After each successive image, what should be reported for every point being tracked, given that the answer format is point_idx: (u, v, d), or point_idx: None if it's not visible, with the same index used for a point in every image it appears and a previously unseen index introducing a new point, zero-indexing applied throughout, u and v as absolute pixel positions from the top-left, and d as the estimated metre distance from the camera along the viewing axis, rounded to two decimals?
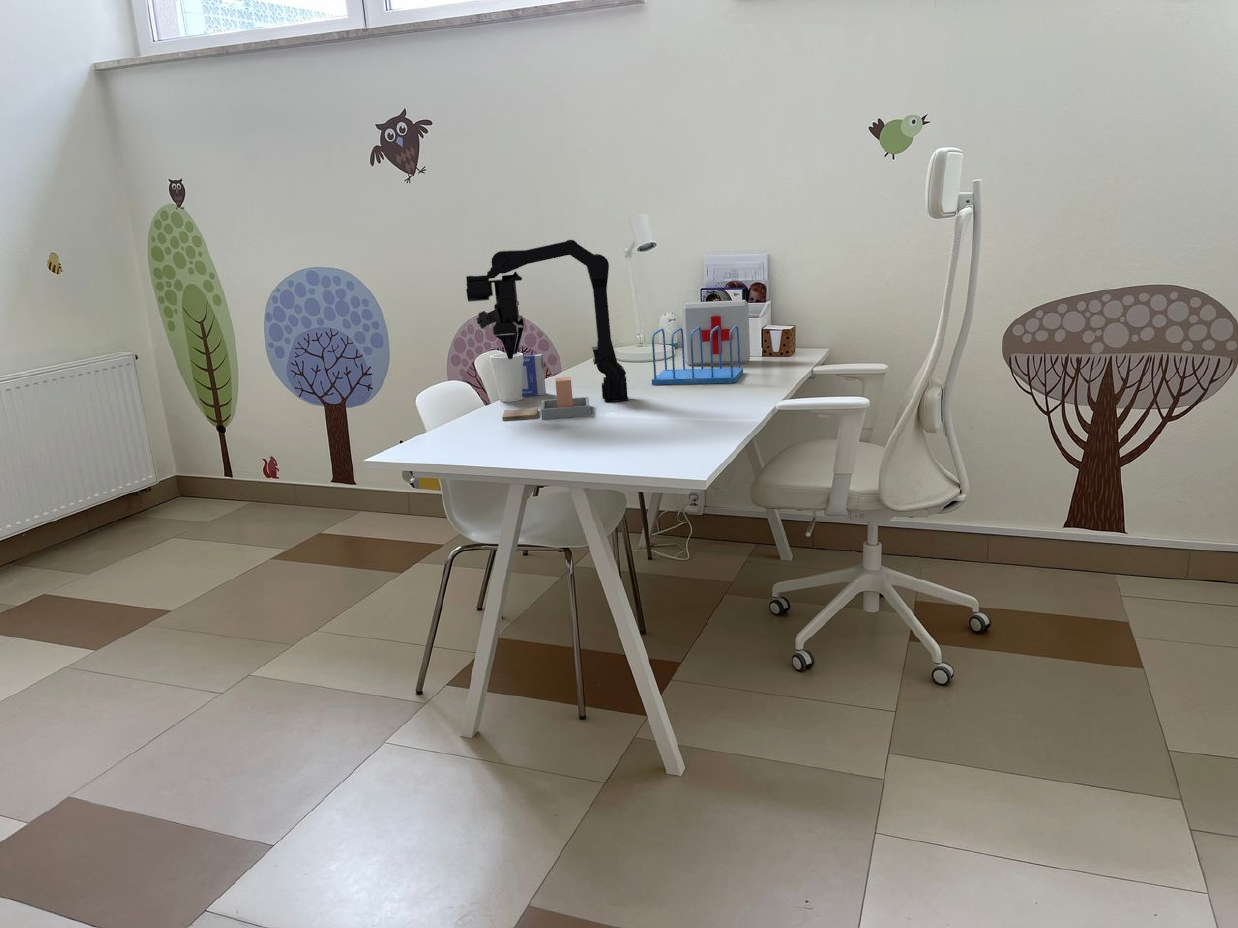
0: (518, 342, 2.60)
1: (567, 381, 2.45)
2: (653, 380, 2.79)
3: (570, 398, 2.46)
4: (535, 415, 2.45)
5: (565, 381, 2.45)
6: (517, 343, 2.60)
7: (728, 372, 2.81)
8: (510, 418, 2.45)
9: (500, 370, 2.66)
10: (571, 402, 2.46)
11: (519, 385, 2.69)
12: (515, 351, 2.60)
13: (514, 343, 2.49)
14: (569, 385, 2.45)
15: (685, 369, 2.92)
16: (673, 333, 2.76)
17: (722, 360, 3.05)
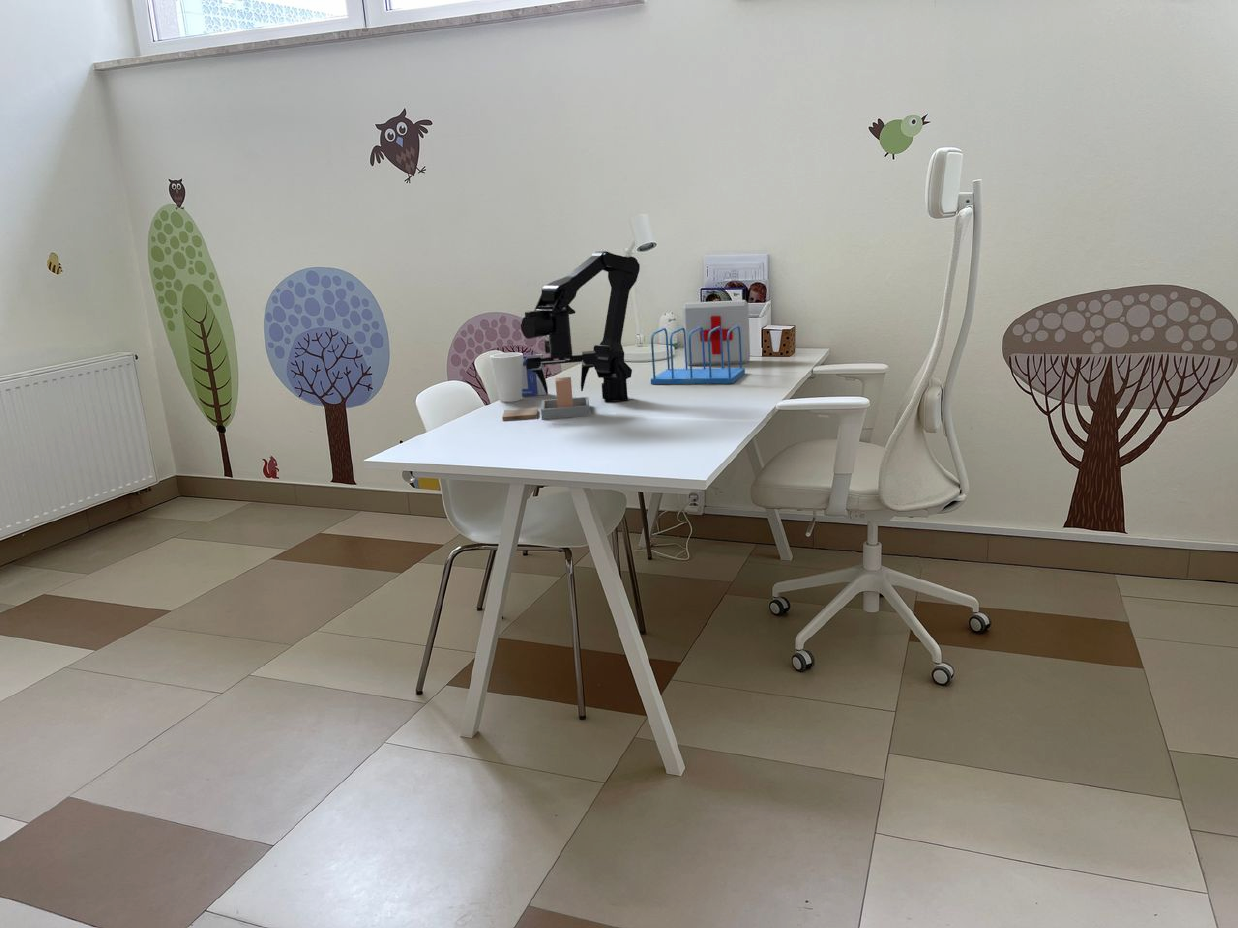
0: (581, 380, 2.46)
1: (567, 381, 2.45)
2: (652, 380, 2.80)
3: (570, 398, 2.46)
4: (535, 415, 2.45)
5: (565, 381, 2.45)
6: (581, 381, 2.47)
7: (728, 372, 2.80)
8: (510, 418, 2.45)
9: (500, 370, 2.66)
10: (571, 402, 2.46)
11: (519, 385, 2.69)
12: (581, 388, 2.48)
13: None
14: (569, 385, 2.45)
15: (687, 369, 2.92)
16: (672, 333, 2.76)
17: None
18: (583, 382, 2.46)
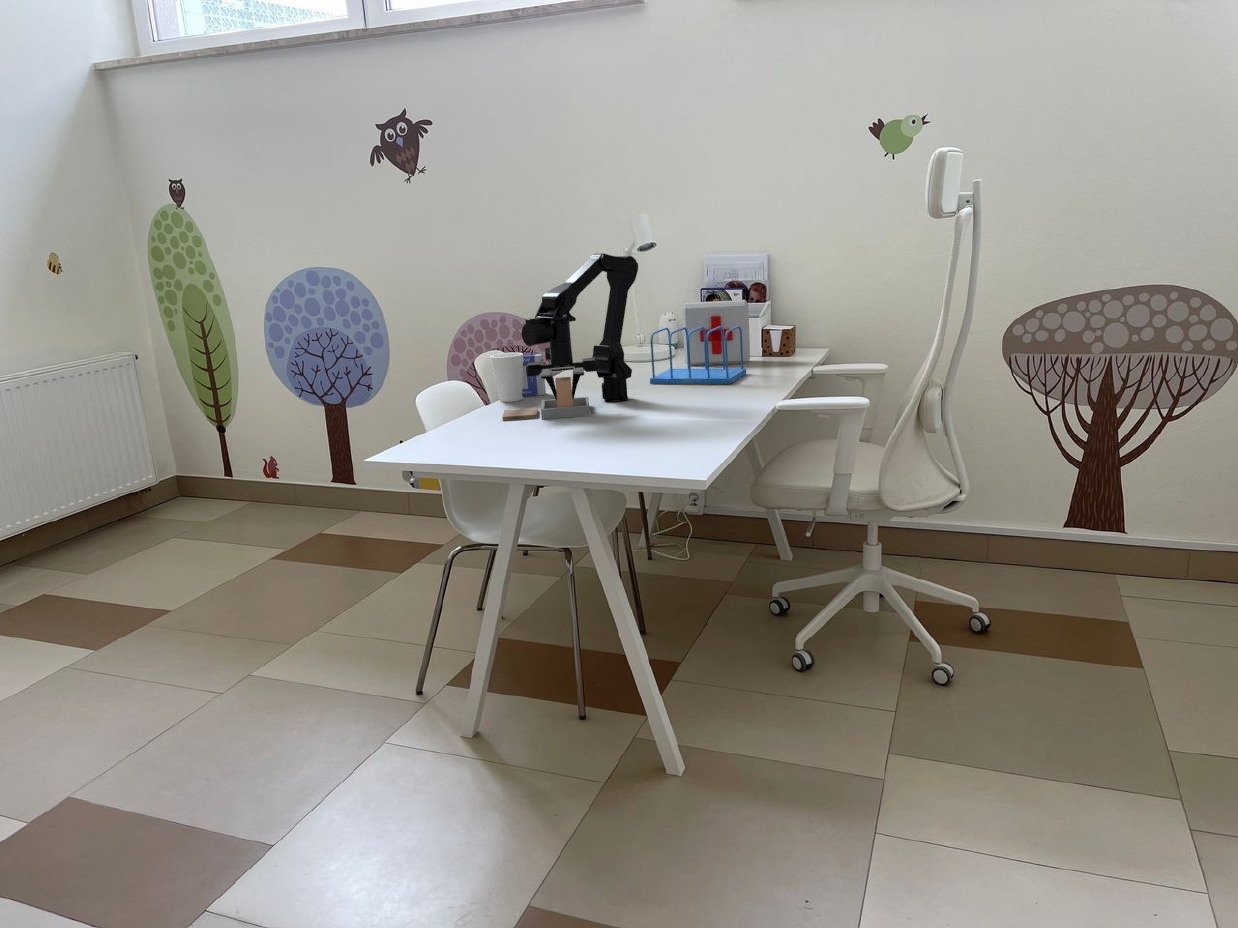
0: (572, 388, 2.47)
1: (567, 381, 2.45)
2: (651, 379, 2.80)
3: (570, 398, 2.46)
4: (535, 415, 2.45)
5: (565, 381, 2.45)
6: (572, 388, 2.47)
7: (727, 373, 2.80)
8: (510, 418, 2.45)
9: (500, 370, 2.66)
10: (571, 402, 2.46)
11: (519, 385, 2.69)
12: (572, 396, 2.48)
13: None
14: (569, 385, 2.45)
15: None
16: (671, 333, 2.77)
17: (722, 360, 3.05)
18: (574, 390, 2.47)
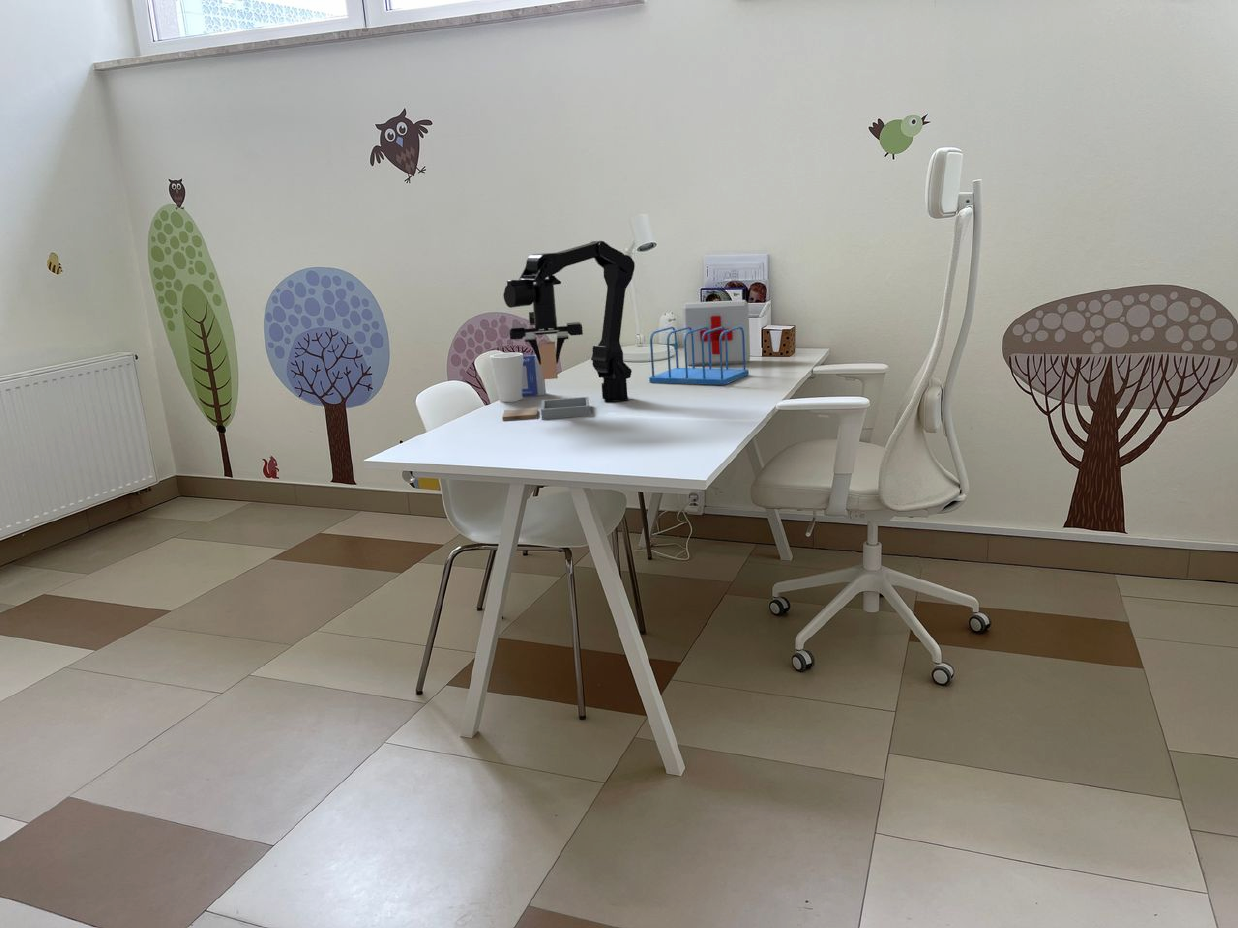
0: (556, 352, 2.44)
1: (551, 345, 2.42)
2: (650, 378, 2.83)
3: (554, 362, 2.43)
4: (535, 415, 2.45)
5: (549, 345, 2.42)
6: (556, 353, 2.44)
7: (726, 374, 2.78)
8: (510, 418, 2.45)
9: (500, 370, 2.66)
10: (555, 366, 2.44)
11: (519, 385, 2.69)
12: (556, 360, 2.45)
13: None
14: (553, 349, 2.42)
15: (695, 368, 2.92)
16: (670, 332, 2.78)
17: (722, 360, 3.05)
18: (558, 354, 2.44)
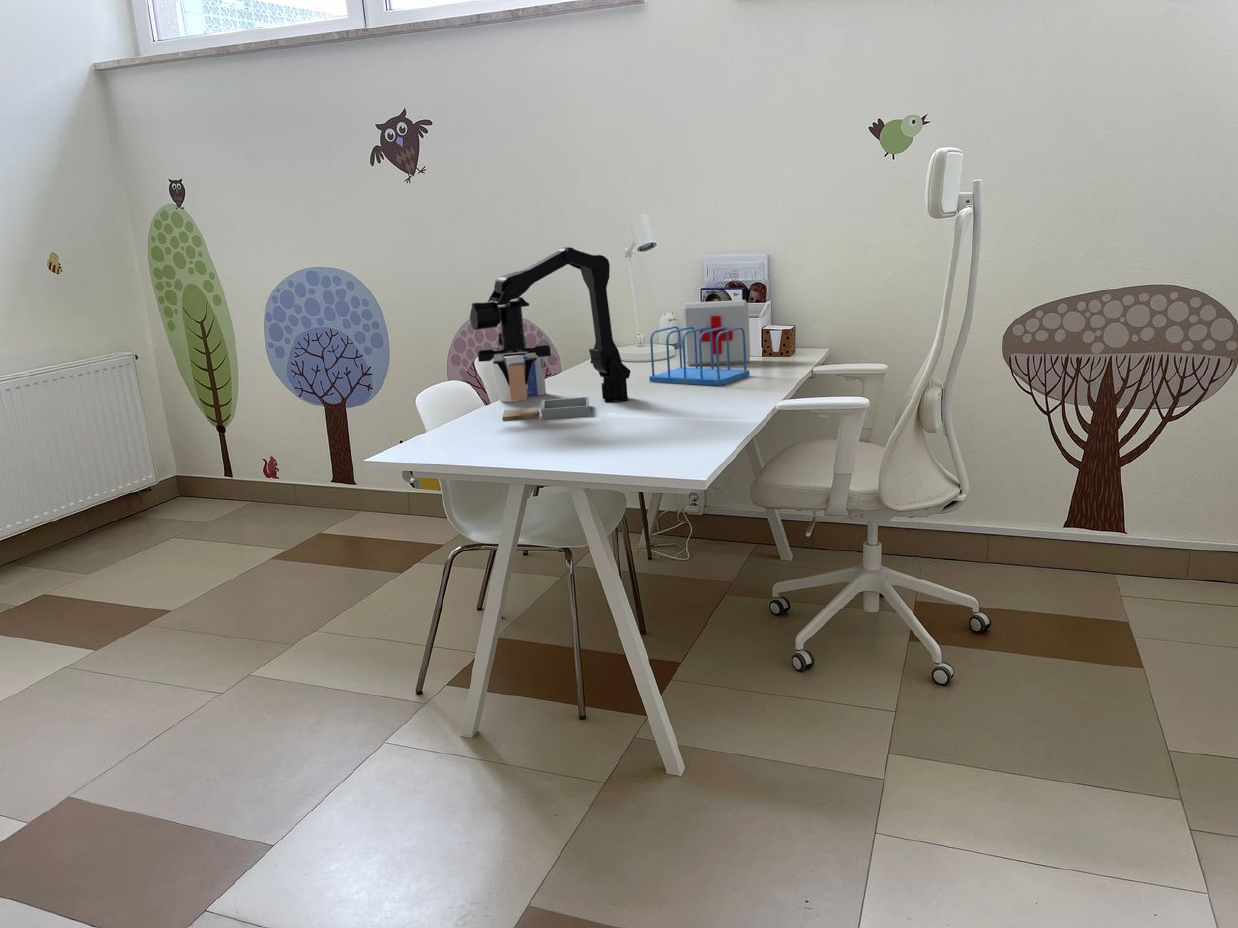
0: (525, 373, 2.45)
1: (519, 366, 2.43)
2: (650, 377, 2.84)
3: (523, 383, 2.44)
4: (535, 415, 2.45)
5: (517, 366, 2.43)
6: (525, 374, 2.45)
7: (725, 374, 2.78)
8: (510, 418, 2.45)
9: (500, 370, 2.66)
10: (524, 387, 2.45)
11: None
12: (525, 381, 2.47)
13: None
14: (522, 370, 2.44)
15: (698, 368, 2.92)
16: (670, 332, 2.78)
17: (722, 360, 3.05)
18: (527, 375, 2.45)
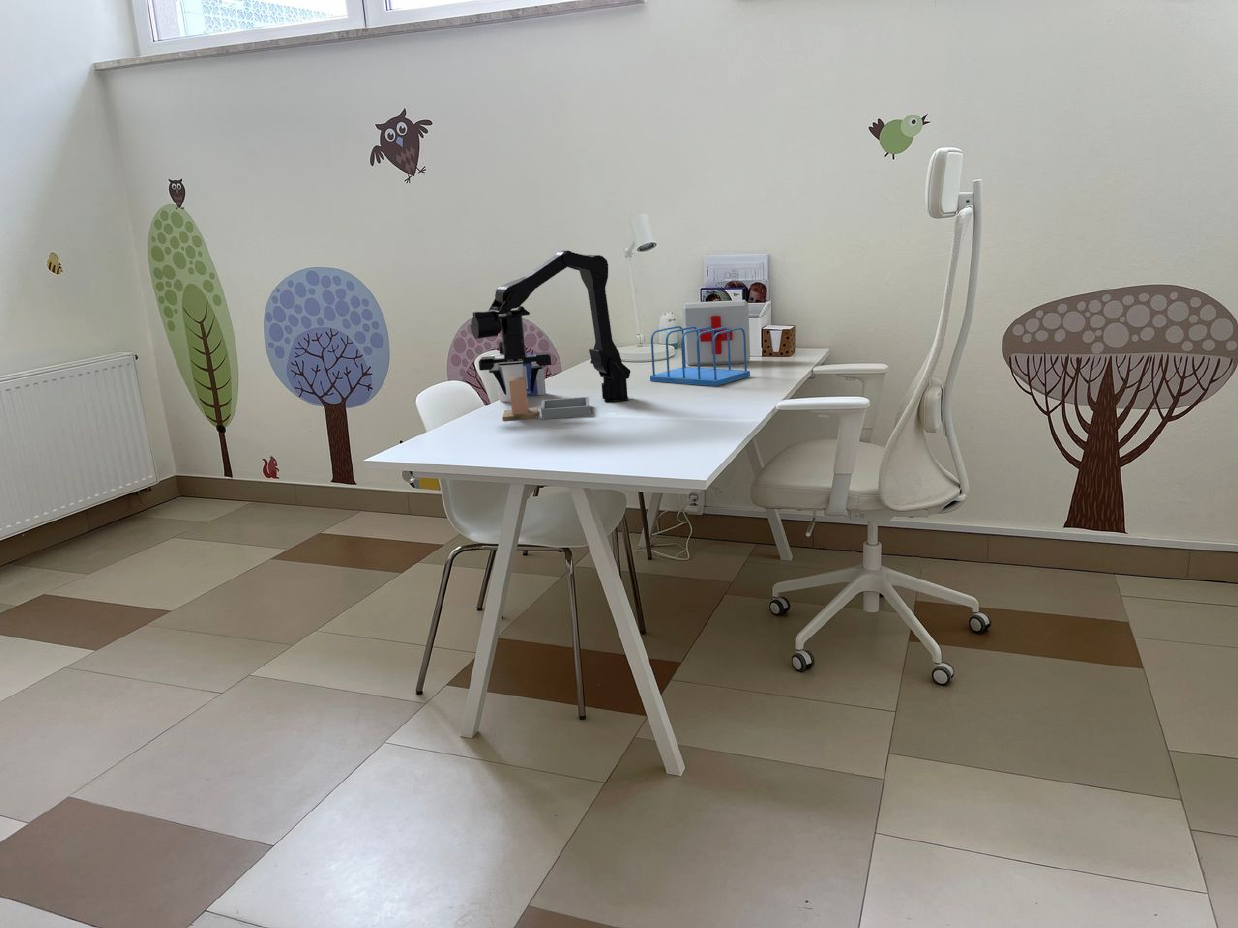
0: None
1: (521, 381, 2.44)
2: (651, 376, 2.85)
3: (524, 398, 2.45)
4: (535, 415, 2.45)
5: (519, 381, 2.44)
6: None
7: (724, 375, 2.77)
8: (510, 418, 2.45)
9: None
10: (525, 402, 2.46)
11: None
12: None
13: None
14: (523, 385, 2.44)
15: (700, 368, 2.92)
16: (669, 332, 2.79)
17: (722, 360, 3.05)
18: (533, 384, 2.46)
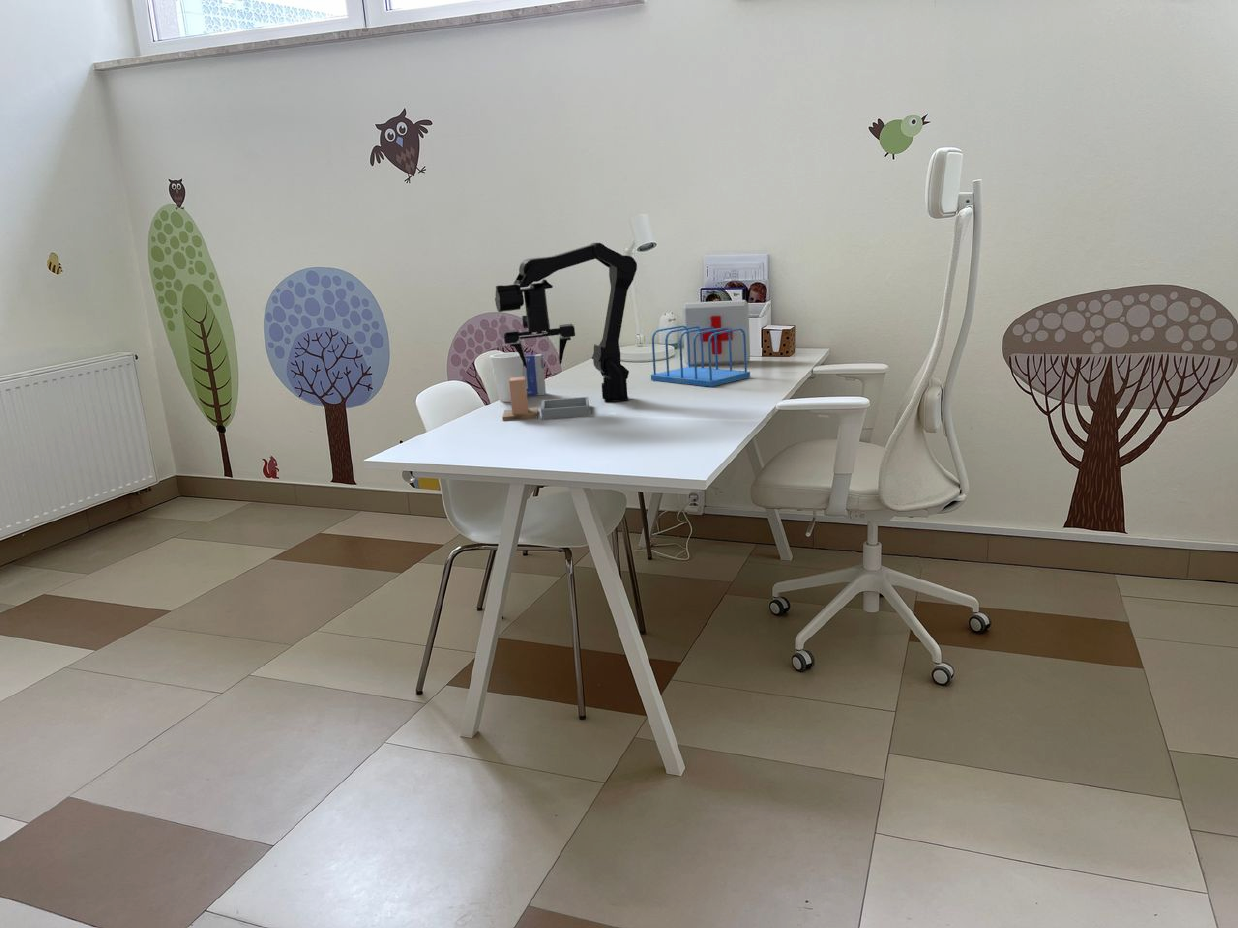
0: (559, 353, 2.51)
1: (521, 381, 2.44)
2: (651, 376, 2.86)
3: (524, 398, 2.45)
4: (535, 415, 2.45)
5: (519, 381, 2.44)
6: (559, 353, 2.51)
7: (722, 375, 2.76)
8: (510, 418, 2.45)
9: (500, 370, 2.66)
10: (525, 402, 2.46)
11: None
12: (559, 361, 2.52)
13: None
14: (523, 385, 2.44)
15: (704, 368, 2.92)
16: (669, 331, 2.80)
17: (722, 360, 3.05)
18: (561, 355, 2.51)
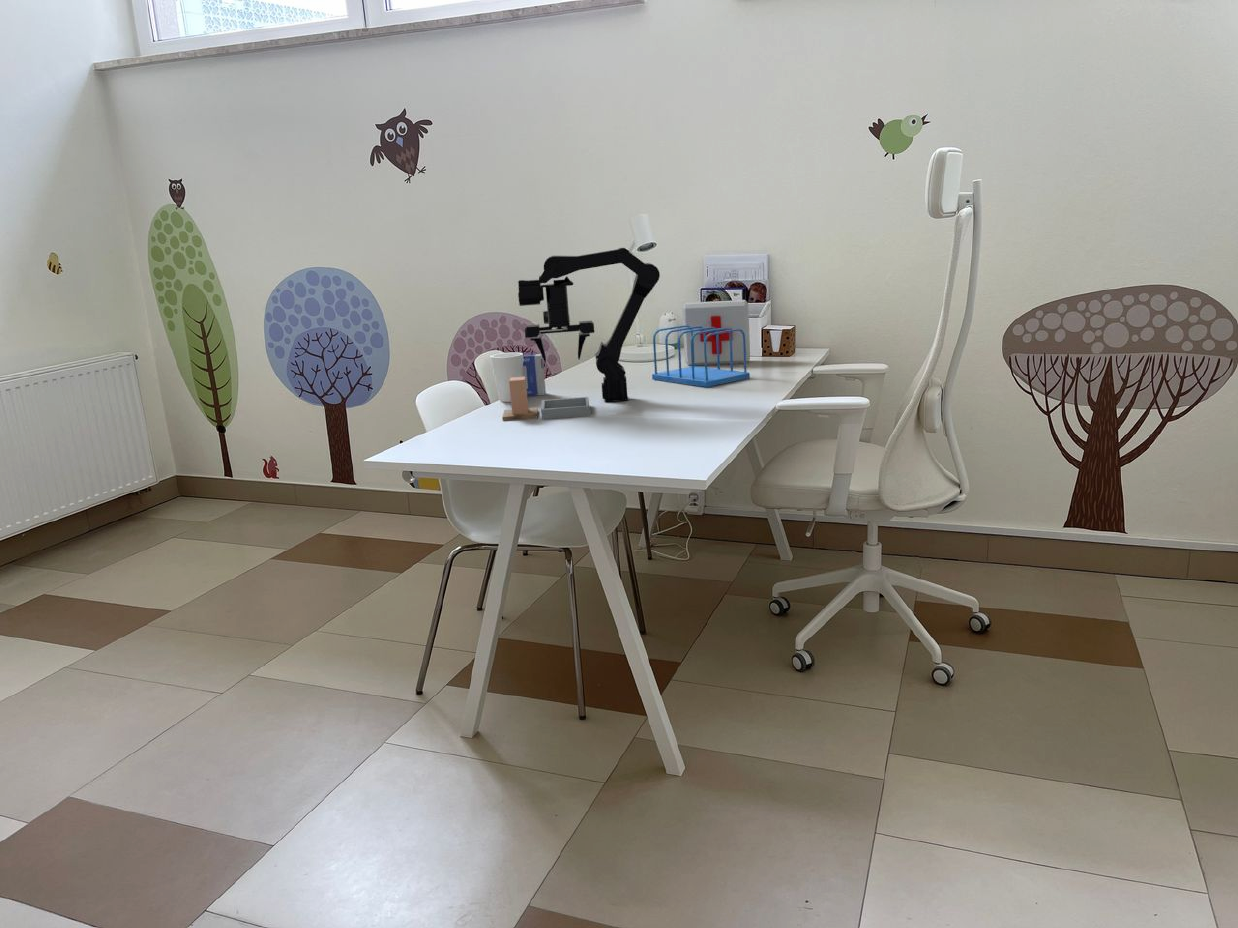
0: (578, 348, 2.56)
1: (521, 381, 2.44)
2: (653, 375, 2.87)
3: (524, 398, 2.45)
4: (535, 415, 2.45)
5: (519, 381, 2.44)
6: (578, 349, 2.56)
7: (721, 376, 2.76)
8: (510, 418, 2.45)
9: (500, 370, 2.66)
10: (525, 402, 2.46)
11: None
12: (578, 357, 2.58)
13: None
14: (523, 385, 2.44)
15: (707, 368, 2.92)
16: (669, 331, 2.80)
17: (722, 360, 3.05)
18: (580, 351, 2.56)
